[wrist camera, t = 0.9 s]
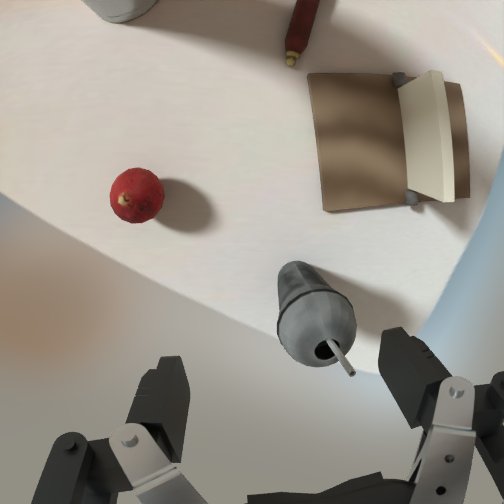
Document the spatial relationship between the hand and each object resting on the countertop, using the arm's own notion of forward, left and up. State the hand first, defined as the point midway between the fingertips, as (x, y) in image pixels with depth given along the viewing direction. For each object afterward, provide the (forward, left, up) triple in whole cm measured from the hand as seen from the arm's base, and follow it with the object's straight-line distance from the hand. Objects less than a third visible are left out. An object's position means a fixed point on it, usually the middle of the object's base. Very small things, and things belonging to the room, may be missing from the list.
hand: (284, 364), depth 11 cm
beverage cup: (+7, +4, -26) cm, 27 cm away
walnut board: (-9, +19, -26) cm, 33 cm away
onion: (-6, -12, -26) cm, 29 cm away
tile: (-9, +18, -18) cm, 27 cm away
